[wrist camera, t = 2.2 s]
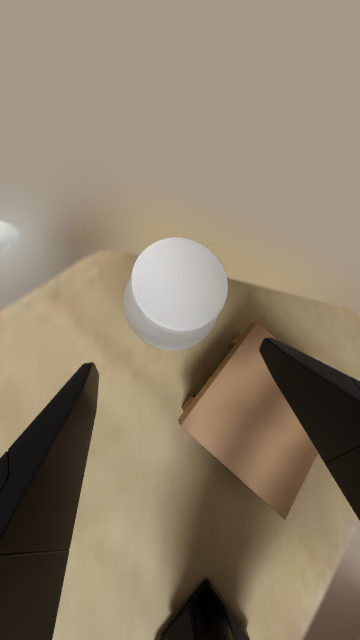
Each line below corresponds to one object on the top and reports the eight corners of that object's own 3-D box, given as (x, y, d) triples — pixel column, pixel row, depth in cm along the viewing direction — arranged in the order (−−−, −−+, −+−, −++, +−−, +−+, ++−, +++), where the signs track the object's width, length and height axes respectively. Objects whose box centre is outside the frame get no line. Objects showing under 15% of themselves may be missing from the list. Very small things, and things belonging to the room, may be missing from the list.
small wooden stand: (307, 390, 21) (343, 400, 17) (255, 481, 18) (285, 519, 14) (237, 326, 20) (257, 321, 16) (173, 408, 17) (180, 425, 14)
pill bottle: (195, 344, 19) (259, 340, 8) (139, 354, 18) (117, 365, 6) (186, 291, 20) (232, 219, 9) (132, 297, 19) (102, 220, 7)
